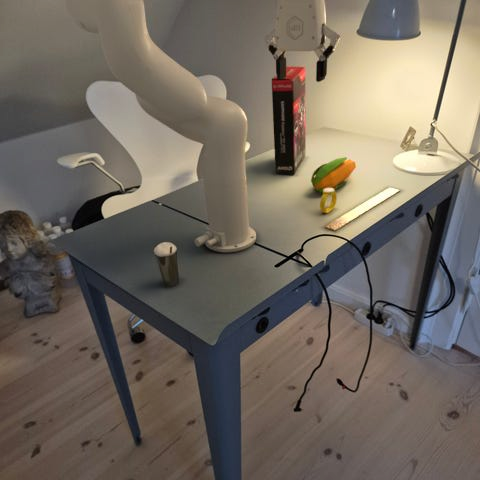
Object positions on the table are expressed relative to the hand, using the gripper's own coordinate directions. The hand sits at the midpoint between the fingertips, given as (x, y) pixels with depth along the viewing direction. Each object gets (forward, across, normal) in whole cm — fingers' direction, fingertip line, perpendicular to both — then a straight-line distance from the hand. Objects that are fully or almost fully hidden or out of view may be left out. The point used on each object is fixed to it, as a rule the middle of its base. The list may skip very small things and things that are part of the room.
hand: (300, 79), depth 101 cm
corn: (+32, +2, +19) cm, 37 cm away
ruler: (+31, +15, +8) cm, 36 cm away
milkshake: (+31, -8, -44) cm, 54 cm away
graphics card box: (+32, -18, +28) cm, 46 cm away
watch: (+32, +7, +2) cm, 32 cm away
